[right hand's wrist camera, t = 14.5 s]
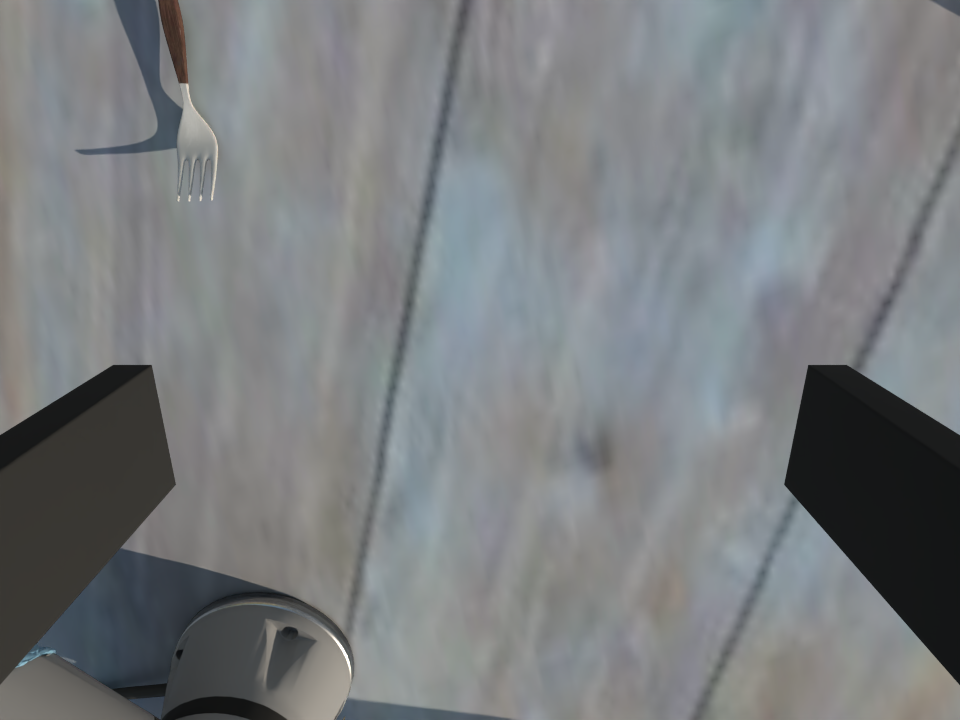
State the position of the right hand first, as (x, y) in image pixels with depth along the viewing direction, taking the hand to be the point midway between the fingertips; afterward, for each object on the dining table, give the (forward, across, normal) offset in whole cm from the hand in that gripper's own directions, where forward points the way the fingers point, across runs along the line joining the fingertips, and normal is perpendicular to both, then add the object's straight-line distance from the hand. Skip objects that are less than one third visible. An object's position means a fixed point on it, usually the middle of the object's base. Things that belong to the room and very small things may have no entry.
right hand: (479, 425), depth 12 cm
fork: (+30, +18, -10) cm, 36 cm away
